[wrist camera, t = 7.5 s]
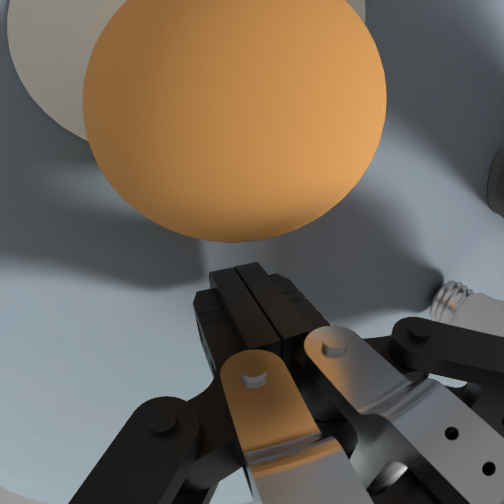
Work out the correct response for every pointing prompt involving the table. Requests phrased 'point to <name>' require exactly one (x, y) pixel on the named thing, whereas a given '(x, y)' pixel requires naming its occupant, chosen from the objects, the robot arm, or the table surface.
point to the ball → (234, 112)
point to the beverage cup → (497, 185)
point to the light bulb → (467, 309)
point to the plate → (64, 50)
